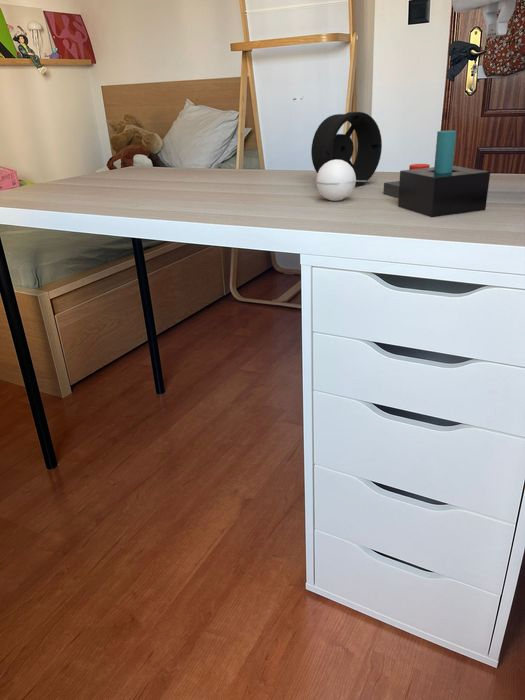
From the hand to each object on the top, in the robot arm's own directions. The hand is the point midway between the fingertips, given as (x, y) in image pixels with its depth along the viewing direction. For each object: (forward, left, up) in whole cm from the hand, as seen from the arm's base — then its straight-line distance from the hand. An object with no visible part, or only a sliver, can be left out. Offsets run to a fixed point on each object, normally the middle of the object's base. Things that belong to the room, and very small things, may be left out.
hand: (495, 36), depth 86 cm
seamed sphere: (+24, -8, -25) cm, 36 cm away
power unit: (+9, -6, -25) cm, 27 cm away
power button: (+9, -6, -22) cm, 24 cm away
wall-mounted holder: (+16, -25, -25) cm, 39 cm away
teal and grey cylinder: (+13, +7, -25) cm, 29 cm away
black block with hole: (+13, +7, -25) cm, 29 cm away
